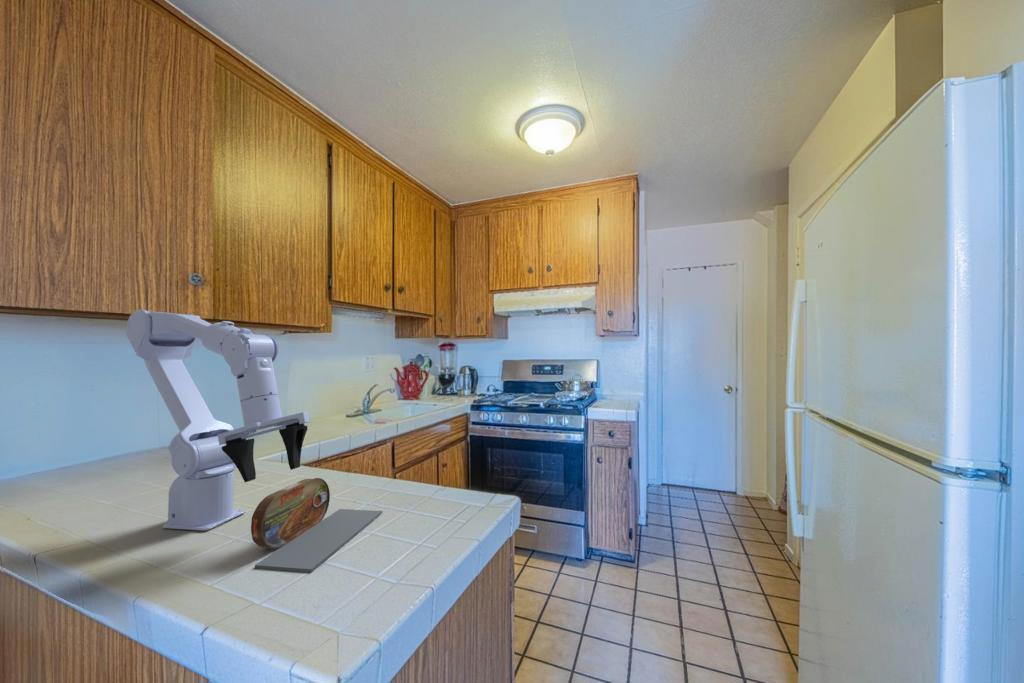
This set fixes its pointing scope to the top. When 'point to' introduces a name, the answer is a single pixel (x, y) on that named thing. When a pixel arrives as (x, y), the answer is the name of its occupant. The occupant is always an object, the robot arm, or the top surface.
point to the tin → (289, 512)
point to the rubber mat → (319, 541)
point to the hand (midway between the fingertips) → (273, 474)
